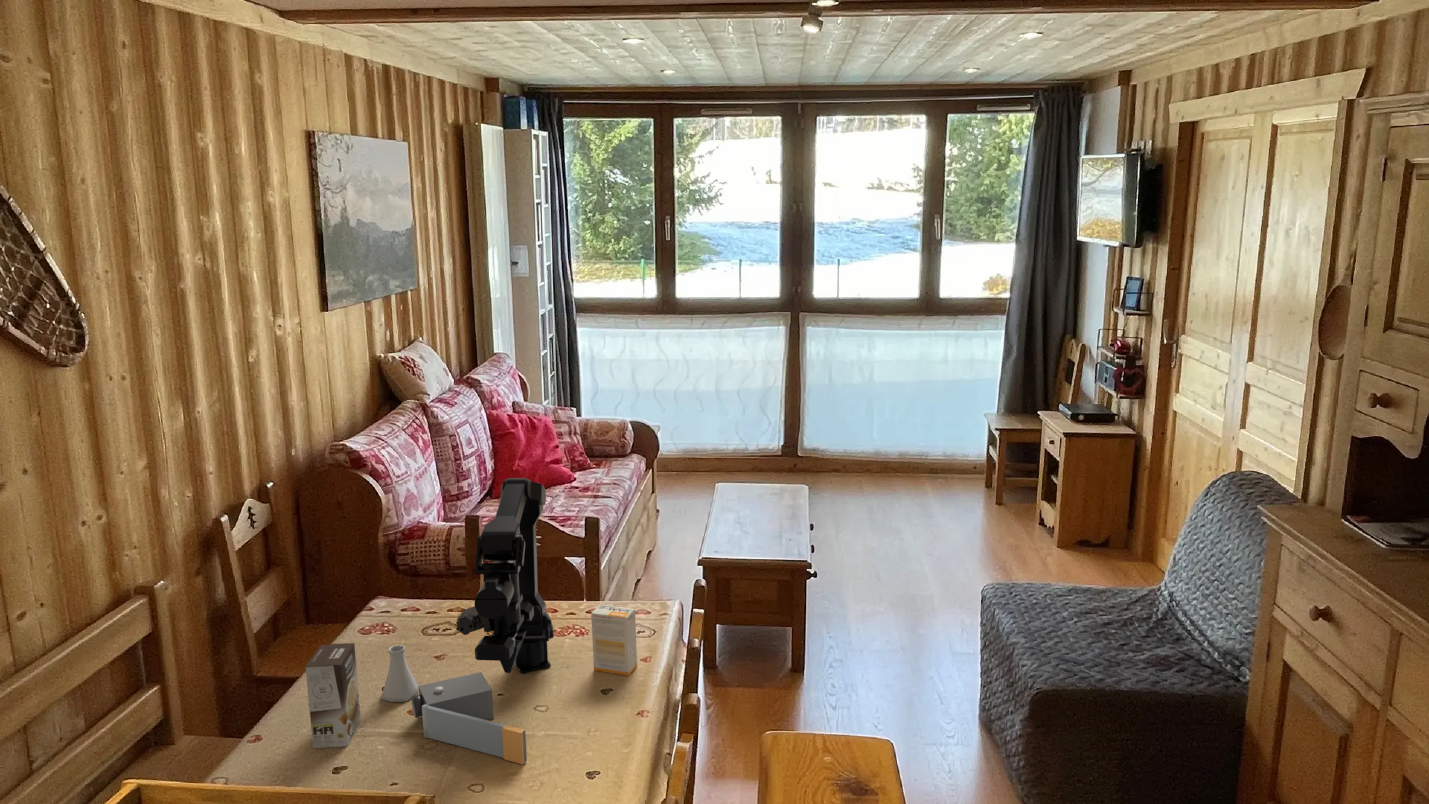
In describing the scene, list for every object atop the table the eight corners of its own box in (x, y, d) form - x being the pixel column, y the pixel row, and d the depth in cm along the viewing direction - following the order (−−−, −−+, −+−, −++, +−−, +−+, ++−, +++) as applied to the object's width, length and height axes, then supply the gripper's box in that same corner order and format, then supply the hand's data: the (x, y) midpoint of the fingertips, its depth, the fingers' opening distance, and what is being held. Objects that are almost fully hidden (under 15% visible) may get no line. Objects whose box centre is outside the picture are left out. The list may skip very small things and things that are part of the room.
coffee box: (348, 747, 179) (341, 665, 176) (312, 749, 179) (303, 666, 175) (362, 720, 188) (355, 642, 185) (327, 722, 188) (319, 643, 184)
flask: (408, 705, 194) (404, 658, 192) (374, 701, 195) (370, 654, 193) (425, 687, 201) (422, 641, 199) (393, 684, 202) (389, 638, 200)
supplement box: (638, 666, 209) (636, 608, 206) (628, 676, 204) (627, 617, 202) (602, 660, 212) (600, 603, 209) (592, 670, 207) (590, 612, 204)
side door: (527, 760, 174) (525, 729, 173) (522, 764, 173) (521, 733, 172) (426, 733, 183) (424, 704, 182) (421, 737, 182) (419, 707, 181)
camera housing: (482, 699, 195) (480, 669, 194) (493, 718, 188) (491, 686, 187) (412, 716, 189) (409, 685, 188) (420, 736, 182) (418, 703, 181)
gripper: (475, 572, 191) (480, 647, 194) (443, 616, 173) (449, 697, 176) (532, 574, 190) (536, 648, 194) (506, 617, 172) (511, 698, 175)
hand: (508, 672), depth 185 cm, fingers closed
